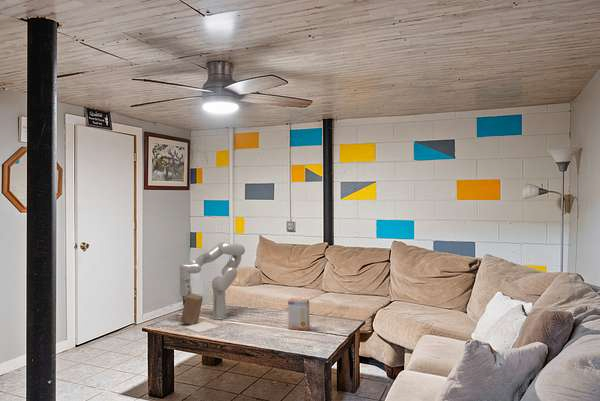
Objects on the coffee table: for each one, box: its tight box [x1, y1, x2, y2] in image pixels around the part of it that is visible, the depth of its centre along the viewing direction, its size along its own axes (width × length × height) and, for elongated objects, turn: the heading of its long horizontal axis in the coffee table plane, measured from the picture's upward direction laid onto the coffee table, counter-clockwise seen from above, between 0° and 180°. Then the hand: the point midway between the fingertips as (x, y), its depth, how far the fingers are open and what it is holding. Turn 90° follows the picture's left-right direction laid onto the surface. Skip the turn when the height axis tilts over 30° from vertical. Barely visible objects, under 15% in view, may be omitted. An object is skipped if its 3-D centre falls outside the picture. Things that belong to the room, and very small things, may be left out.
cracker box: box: [287, 298, 311, 332], centre depth 308 cm, size 14×6×21 cm, turn 71°
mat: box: [184, 321, 221, 334], centre depth 314 cm, size 18×18×1 cm
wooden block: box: [180, 293, 204, 326], centre depth 324 cm, size 10×10×20 cm
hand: (185, 305), depth 328 cm, fingers closed
